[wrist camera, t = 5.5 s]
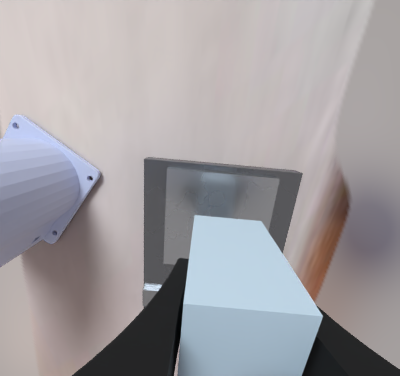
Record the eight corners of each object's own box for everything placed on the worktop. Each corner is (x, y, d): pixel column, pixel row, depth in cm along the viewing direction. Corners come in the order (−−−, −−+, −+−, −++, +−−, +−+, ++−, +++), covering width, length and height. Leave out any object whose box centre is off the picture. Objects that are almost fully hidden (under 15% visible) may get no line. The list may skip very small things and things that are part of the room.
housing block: (247, 288, 12) (285, 421, 7) (188, 283, 12) (174, 411, 7) (261, 221, 11) (323, 316, 5) (194, 215, 11) (183, 303, 5)
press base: (259, 323, 21) (264, 340, 20) (147, 313, 21) (142, 329, 20) (295, 170, 16) (306, 175, 15) (148, 157, 16) (141, 160, 15)
